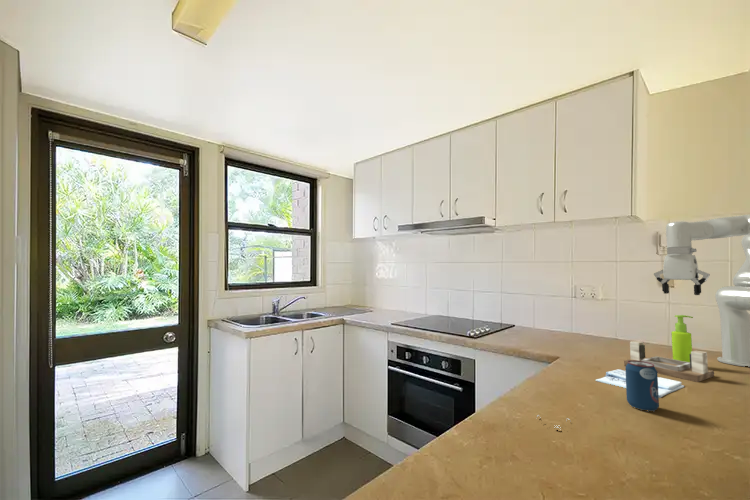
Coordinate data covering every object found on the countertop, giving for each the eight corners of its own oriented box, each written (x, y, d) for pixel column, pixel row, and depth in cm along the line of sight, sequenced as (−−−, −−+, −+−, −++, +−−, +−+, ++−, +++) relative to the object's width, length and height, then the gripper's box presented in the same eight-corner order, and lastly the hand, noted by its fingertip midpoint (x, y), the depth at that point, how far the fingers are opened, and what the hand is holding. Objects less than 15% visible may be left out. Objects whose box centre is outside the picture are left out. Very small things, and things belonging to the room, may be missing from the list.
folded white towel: (685, 388, 108) (685, 381, 108) (659, 400, 98) (659, 393, 98) (618, 372, 125) (618, 367, 125) (590, 381, 114) (590, 375, 114)
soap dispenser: (700, 368, 129) (697, 316, 131) (679, 367, 131) (676, 315, 132) (689, 364, 135) (686, 314, 136) (669, 363, 136) (667, 314, 138)
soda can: (661, 414, 86) (659, 367, 87) (628, 408, 90) (626, 363, 91) (656, 405, 92) (654, 361, 93) (625, 400, 96) (623, 358, 97)
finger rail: (642, 361, 139) (641, 339, 139) (714, 376, 119) (712, 350, 120) (624, 365, 132) (623, 342, 133) (697, 382, 113) (696, 355, 113)
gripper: (711, 251, 130) (714, 295, 129) (657, 253, 145) (659, 292, 144) (704, 250, 126) (706, 295, 125) (649, 252, 141) (651, 293, 140)
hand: (681, 294), depth 134 cm, fingers open, 9 cm apart
